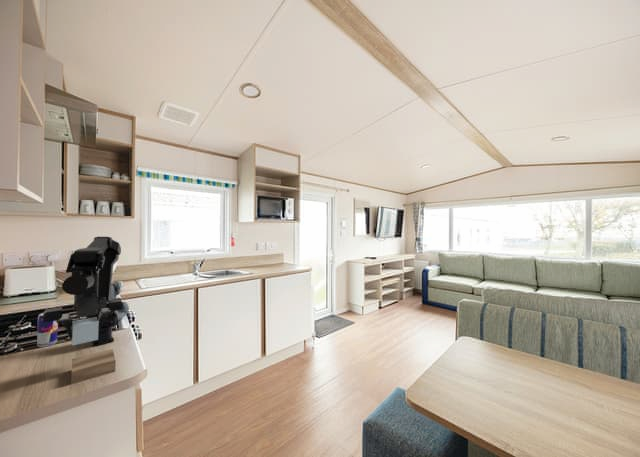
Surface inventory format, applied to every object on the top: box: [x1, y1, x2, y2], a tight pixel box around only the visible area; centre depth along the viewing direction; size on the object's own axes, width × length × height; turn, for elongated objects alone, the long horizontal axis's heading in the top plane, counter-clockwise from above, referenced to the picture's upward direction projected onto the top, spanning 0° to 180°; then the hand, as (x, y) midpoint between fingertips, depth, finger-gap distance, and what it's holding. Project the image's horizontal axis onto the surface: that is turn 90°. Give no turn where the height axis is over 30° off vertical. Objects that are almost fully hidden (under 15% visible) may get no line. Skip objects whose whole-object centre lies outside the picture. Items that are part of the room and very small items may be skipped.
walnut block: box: [70, 349, 117, 385], centre depth 80 cm, size 10×10×4 cm
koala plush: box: [85, 279, 130, 322], centre depth 123 cm, size 17×18×20 cm
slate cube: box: [71, 317, 99, 346], centre depth 82 cm, size 6×6×6 cm
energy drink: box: [36, 312, 59, 348], centre depth 97 cm, size 5×5×12 cm
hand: (84, 335), depth 82 cm, fingers closed on slate cube, 6 cm apart
